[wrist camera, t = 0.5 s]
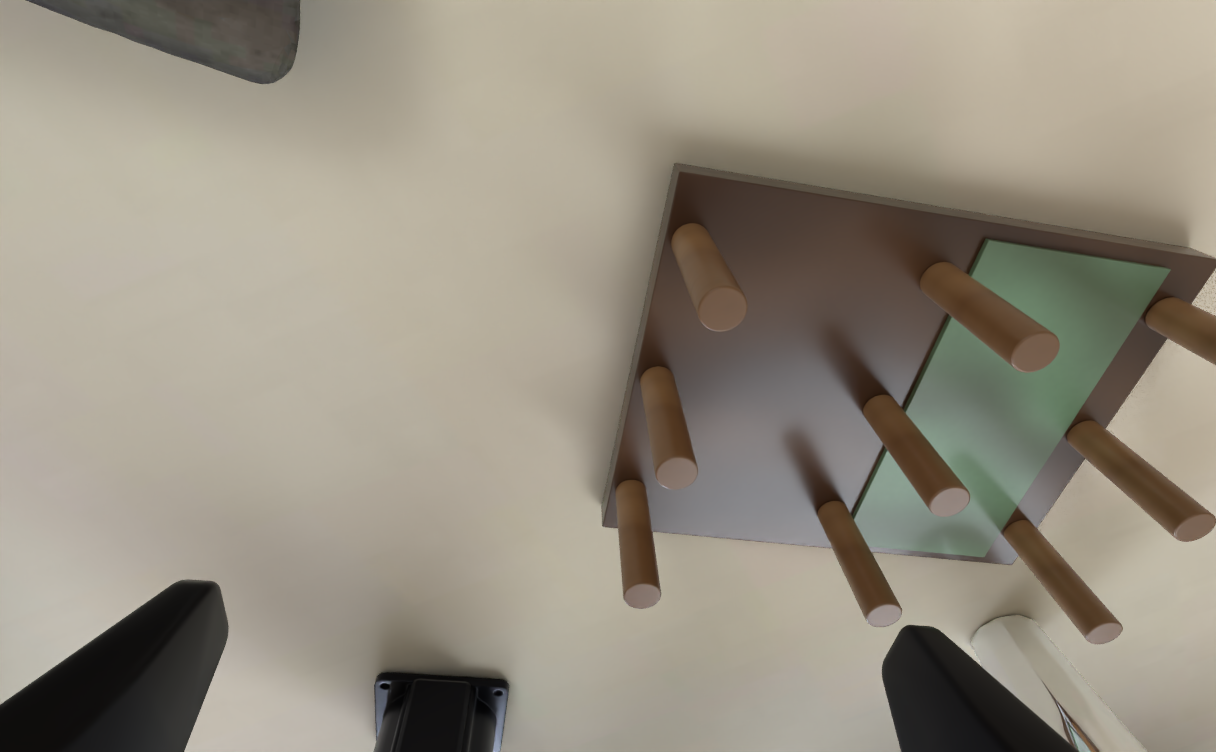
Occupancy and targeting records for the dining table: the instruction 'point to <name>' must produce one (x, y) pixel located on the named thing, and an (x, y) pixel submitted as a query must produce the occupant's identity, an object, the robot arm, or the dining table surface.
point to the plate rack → (888, 382)
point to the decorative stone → (202, 30)
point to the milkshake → (1050, 685)
